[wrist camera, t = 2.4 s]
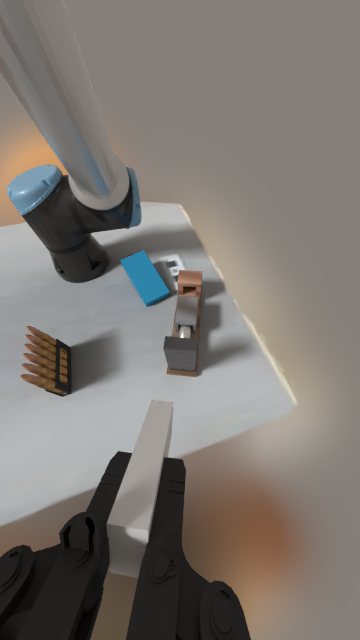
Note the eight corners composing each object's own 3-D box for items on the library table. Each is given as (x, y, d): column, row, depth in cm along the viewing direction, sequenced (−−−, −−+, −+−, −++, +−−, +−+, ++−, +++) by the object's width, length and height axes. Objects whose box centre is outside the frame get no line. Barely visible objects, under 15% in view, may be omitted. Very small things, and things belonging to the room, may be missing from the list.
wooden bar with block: (195, 377, 38) (197, 367, 32) (167, 374, 38) (164, 364, 32) (201, 288, 50) (203, 270, 44) (179, 287, 51) (178, 268, 45)
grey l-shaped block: (193, 372, 37) (196, 351, 27) (169, 369, 37) (163, 348, 27) (198, 309, 45) (201, 275, 35) (177, 307, 45) (175, 273, 35)
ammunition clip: (62, 349, 42) (21, 323, 32) (70, 347, 42) (33, 320, 32) (61, 396, 37) (13, 384, 26) (71, 393, 37) (26, 379, 27)
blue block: (168, 302, 54) (139, 256, 58) (169, 291, 47) (137, 240, 51) (147, 312, 52) (119, 264, 56) (146, 303, 46) (114, 249, 49)
